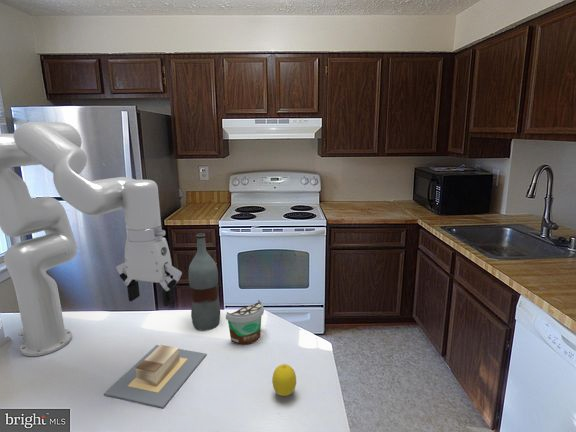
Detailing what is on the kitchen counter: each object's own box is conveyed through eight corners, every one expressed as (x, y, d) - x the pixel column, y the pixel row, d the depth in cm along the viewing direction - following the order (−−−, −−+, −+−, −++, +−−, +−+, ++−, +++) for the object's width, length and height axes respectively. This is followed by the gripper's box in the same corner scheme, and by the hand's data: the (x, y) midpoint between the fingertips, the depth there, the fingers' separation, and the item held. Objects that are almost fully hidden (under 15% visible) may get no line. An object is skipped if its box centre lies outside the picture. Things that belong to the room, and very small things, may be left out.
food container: (238, 353, 97) (237, 320, 95) (226, 343, 102) (225, 312, 100) (272, 336, 105) (272, 306, 103) (260, 328, 110) (259, 299, 107)
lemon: (277, 406, 78) (277, 375, 76) (269, 390, 83) (268, 361, 81) (300, 399, 80) (300, 369, 78) (290, 384, 85) (290, 355, 83)
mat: (103, 395, 82) (103, 393, 82) (156, 346, 101) (156, 344, 100) (163, 408, 78) (163, 406, 78) (206, 355, 96) (206, 353, 96)
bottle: (213, 333, 107) (207, 239, 100) (186, 329, 109) (179, 238, 102) (225, 317, 116) (220, 231, 109) (200, 314, 118) (194, 229, 111)
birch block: (180, 361, 93) (178, 347, 92) (156, 386, 84) (155, 371, 83) (162, 357, 95) (160, 344, 94) (137, 382, 85) (135, 367, 84)
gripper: (186, 231, 82) (191, 298, 86) (124, 227, 86) (131, 290, 90) (167, 241, 75) (173, 313, 79) (101, 235, 79) (110, 303, 83)
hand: (151, 301), depth 85 cm, fingers open, 9 cm apart
